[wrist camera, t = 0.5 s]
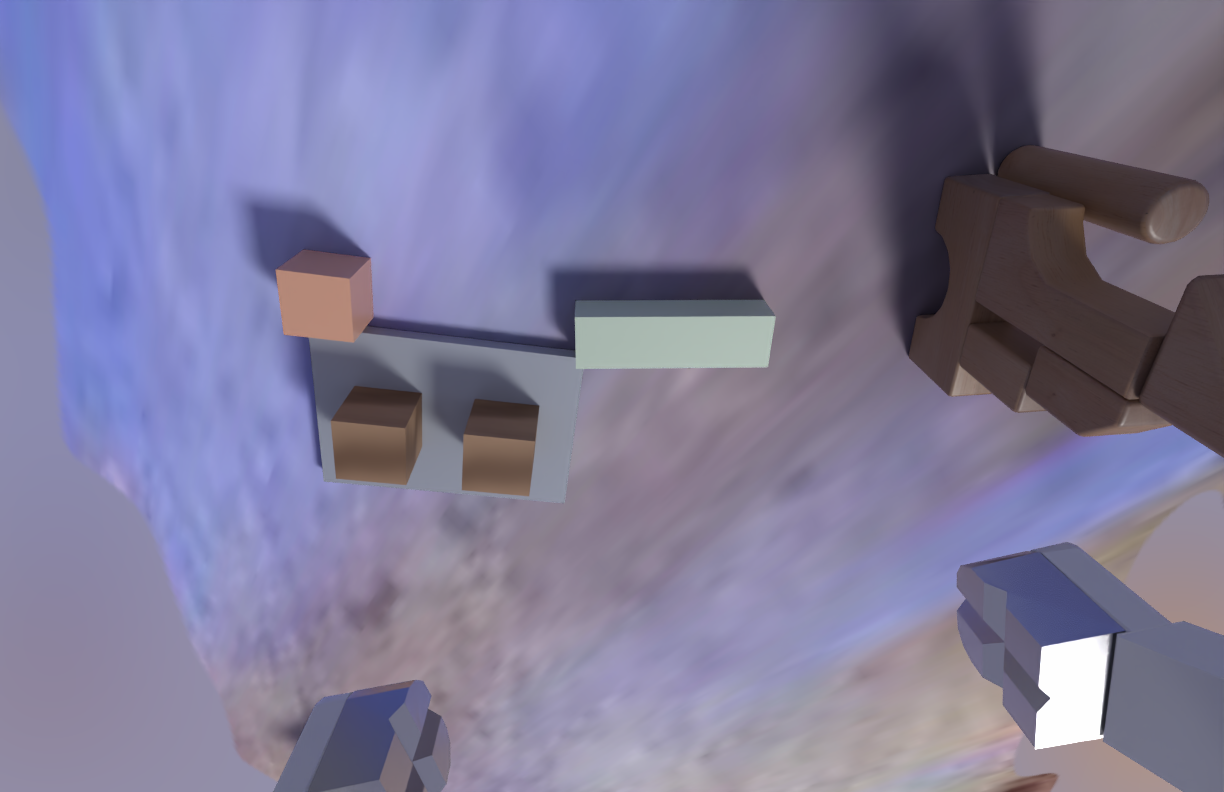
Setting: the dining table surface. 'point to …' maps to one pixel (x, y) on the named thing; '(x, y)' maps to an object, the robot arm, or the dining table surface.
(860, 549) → the dining table surface
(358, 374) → the board
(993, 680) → the robot arm
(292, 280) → the cube
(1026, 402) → the wooden toy
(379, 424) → the tan wooden block
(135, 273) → the dining table surface
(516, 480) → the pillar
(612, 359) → the plank
